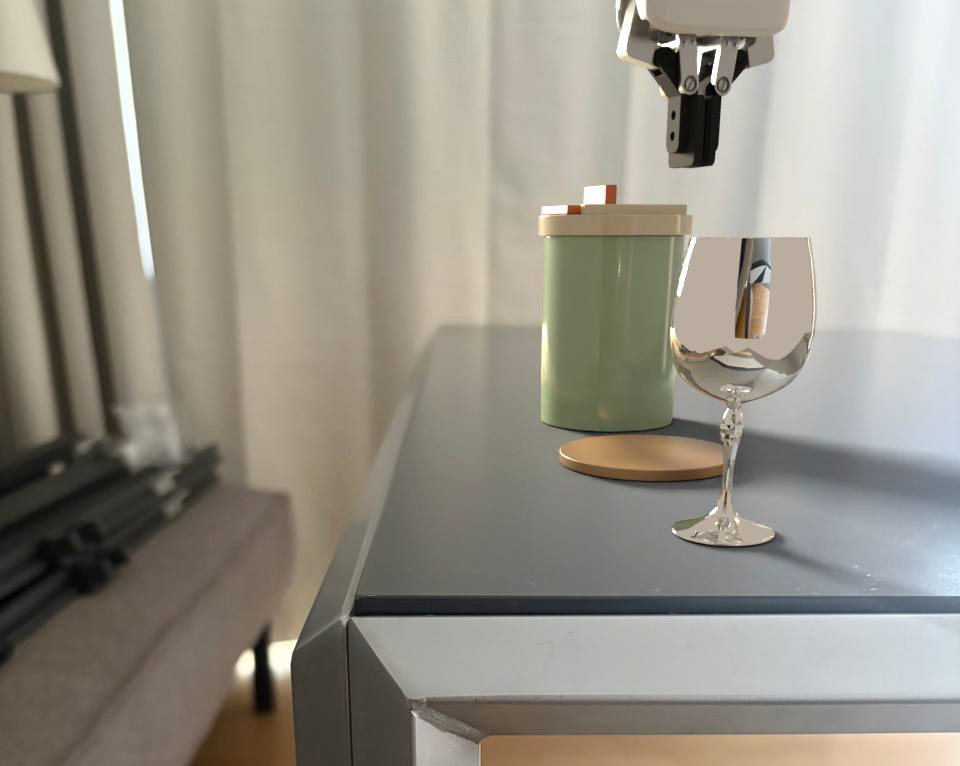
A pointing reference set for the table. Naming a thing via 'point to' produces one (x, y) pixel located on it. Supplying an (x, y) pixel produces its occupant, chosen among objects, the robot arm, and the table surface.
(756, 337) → the wineglass
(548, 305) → the green storage canister
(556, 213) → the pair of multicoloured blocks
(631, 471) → the coaster
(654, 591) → the table surface
